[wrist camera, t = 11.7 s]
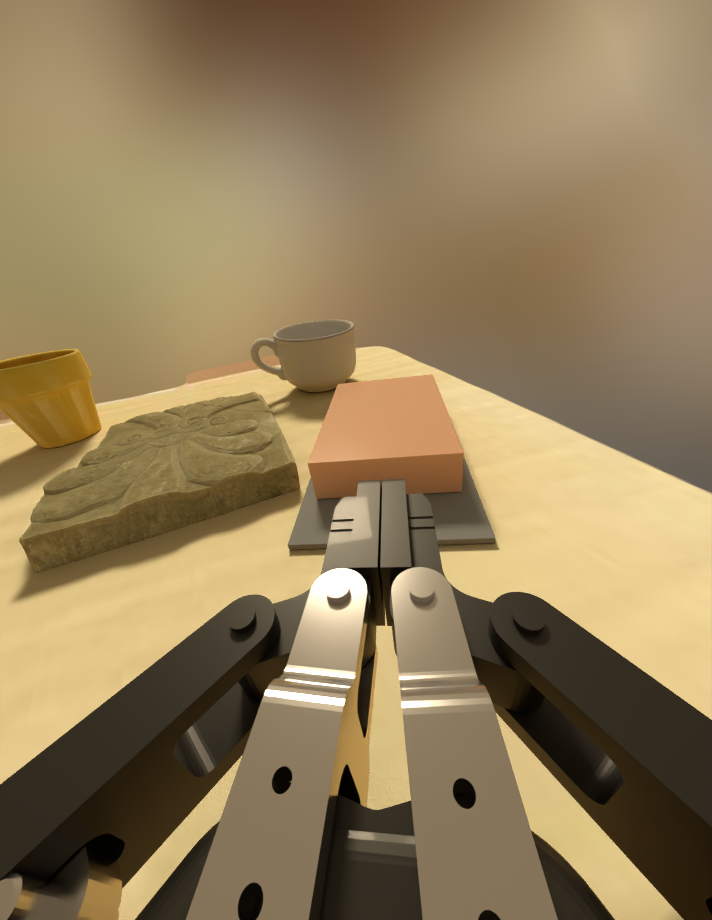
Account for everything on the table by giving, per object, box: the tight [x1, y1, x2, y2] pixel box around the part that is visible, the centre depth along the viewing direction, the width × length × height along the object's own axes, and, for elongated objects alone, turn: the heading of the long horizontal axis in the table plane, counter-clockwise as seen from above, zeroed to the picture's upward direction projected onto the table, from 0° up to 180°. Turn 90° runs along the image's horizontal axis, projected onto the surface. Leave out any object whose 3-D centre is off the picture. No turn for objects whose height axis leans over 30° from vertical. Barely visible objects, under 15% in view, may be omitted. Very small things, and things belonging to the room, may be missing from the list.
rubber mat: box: [288, 458, 495, 550], centre depth 28 cm, size 12×21×1 cm, turn 175°
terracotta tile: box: [308, 375, 464, 499], centre depth 29 cm, size 10×3×16 cm
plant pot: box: [0, 349, 101, 448], centre depth 40 cm, size 10×10×10 cm
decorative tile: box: [19, 392, 300, 572], centre depth 31 cm, size 19×20×4 cm
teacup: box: [251, 320, 356, 392], centre depth 45 cm, size 14×11×8 cm
